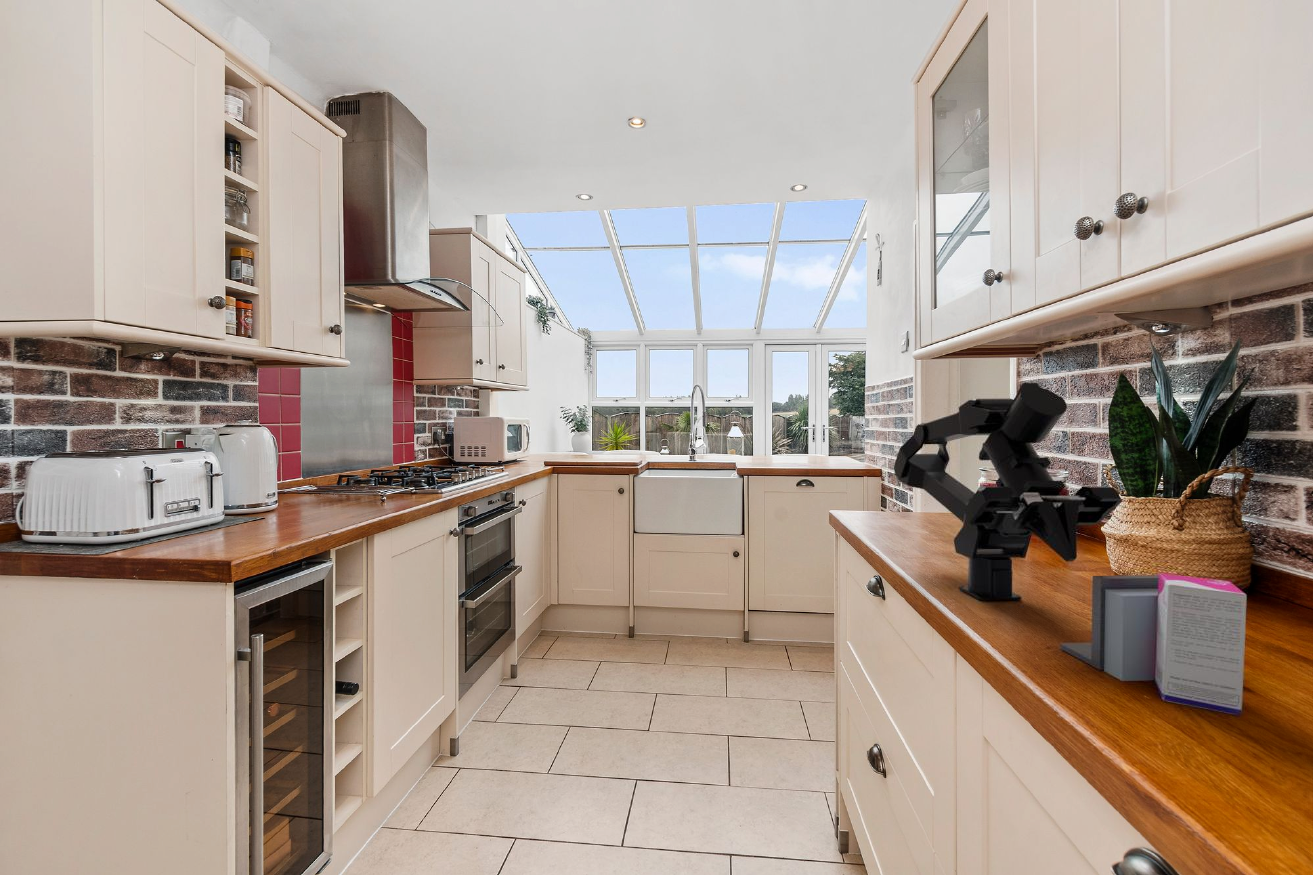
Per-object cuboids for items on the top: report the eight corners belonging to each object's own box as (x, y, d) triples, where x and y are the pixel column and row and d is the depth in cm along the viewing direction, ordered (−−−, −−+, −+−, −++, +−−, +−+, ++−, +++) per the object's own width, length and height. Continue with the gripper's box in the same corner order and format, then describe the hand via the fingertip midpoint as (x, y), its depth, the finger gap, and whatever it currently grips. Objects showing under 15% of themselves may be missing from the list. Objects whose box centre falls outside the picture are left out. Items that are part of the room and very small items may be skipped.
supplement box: (1245, 717, 55) (1248, 593, 54) (1161, 701, 58) (1163, 584, 58) (1228, 692, 60) (1231, 579, 59) (1152, 679, 63) (1154, 571, 62)
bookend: (1059, 648, 71) (1060, 564, 71) (1133, 646, 71) (1134, 563, 71) (1099, 669, 65) (1101, 578, 64) (1180, 668, 65) (1181, 577, 65)
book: (1104, 671, 65) (1105, 589, 65) (1175, 669, 65) (1177, 588, 65) (1121, 680, 62) (1123, 595, 62) (1196, 679, 63) (1197, 594, 62)
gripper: (1050, 498, 92) (1104, 590, 82) (933, 498, 91) (972, 591, 81) (1092, 451, 84) (1158, 546, 73) (963, 450, 83) (1012, 547, 72)
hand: (1071, 560), depth 75 cm, fingers closed
